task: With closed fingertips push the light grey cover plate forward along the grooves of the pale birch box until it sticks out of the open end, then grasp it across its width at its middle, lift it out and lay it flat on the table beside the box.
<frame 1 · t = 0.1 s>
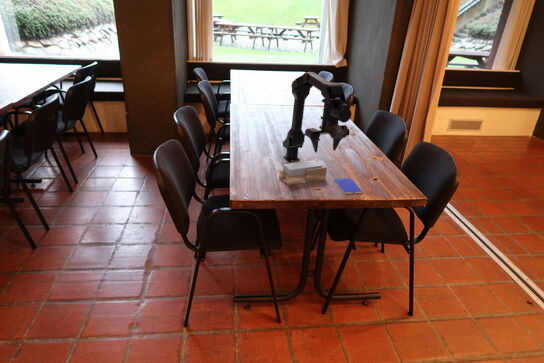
hand: (325, 151, 155), 14 cm above the table, fingers open, 9 cm apart
cover plate: (302, 171, 162), point 3 cm above the table, touching birch box
birch box: (302, 178, 164), on the table
hard drive: (347, 188, 159), on the table
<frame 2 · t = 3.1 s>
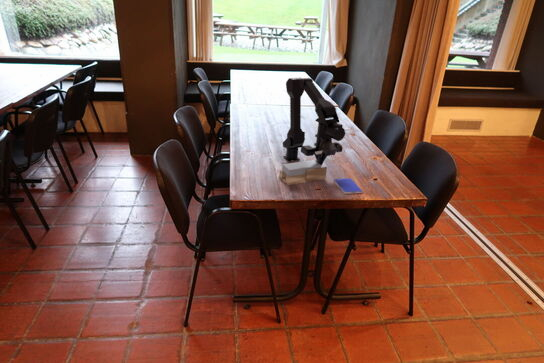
hand: (319, 166, 166), 5 cm above the table, fingers closed
cover plate: (301, 171, 162), point 4 cm above the table, touching birch box, gripper
everything else where it was.
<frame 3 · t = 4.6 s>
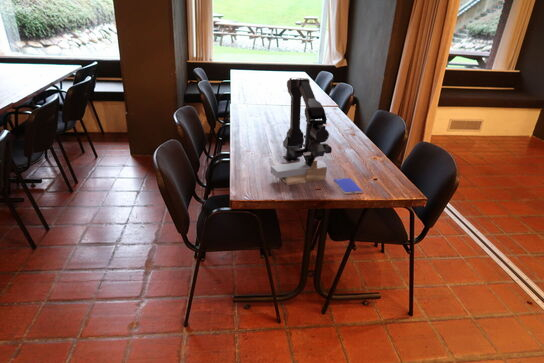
hand: (308, 168, 163), 5 cm above the table, fingers closed
cover plate: (290, 172, 160), point 3 cm above the table, touching birch box, gripper
everything else where it was.
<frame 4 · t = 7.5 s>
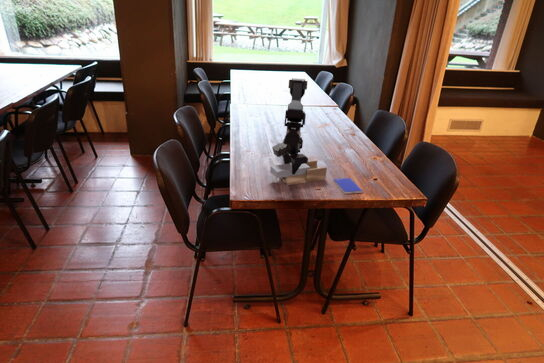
hand: (289, 171, 160), 4 cm above the table, fingers closed on cover plate, 6 cm apart
cover plate: (289, 172, 160), point 4 cm above the table, touching birch box, gripper
everything else where it was.
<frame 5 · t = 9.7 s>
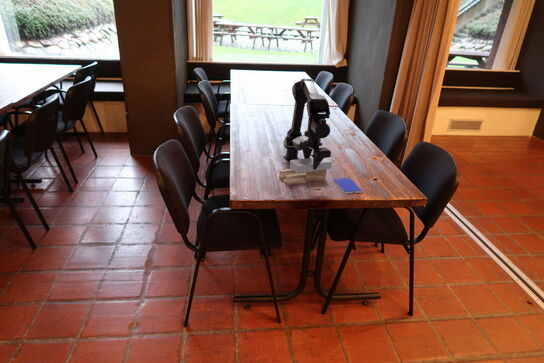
hand: (310, 166, 150), 11 cm above the table, fingers closed on cover plate, 6 cm apart
cover plate: (310, 167, 150), point 10 cm above the table, touching gripper
everything else where it was.
when the fingers open (2 cm above the table, at t = 11.6 s): cover plate drops 2 cm, on the table.
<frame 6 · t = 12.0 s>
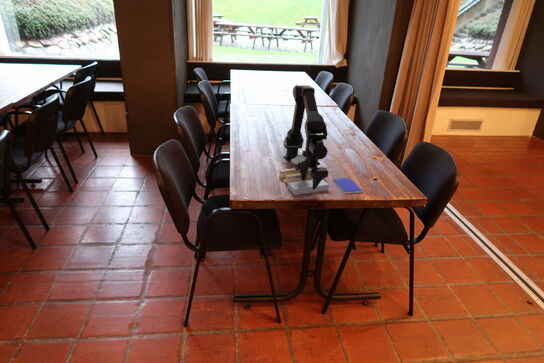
hand: (308, 184, 153), 2 cm above the table, fingers open, 9 cm apart
cover plate: (307, 190, 155), on the table
everything else where it was.
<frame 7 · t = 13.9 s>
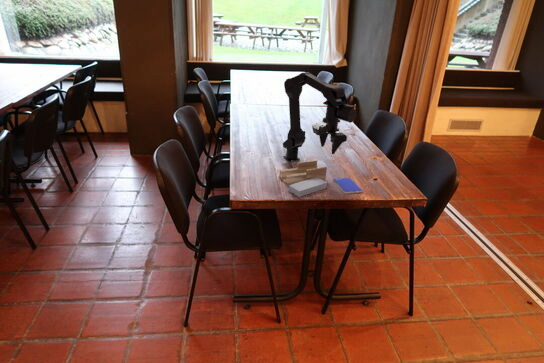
hand: (327, 150, 165), 12 cm above the table, fingers open, 9 cm apart
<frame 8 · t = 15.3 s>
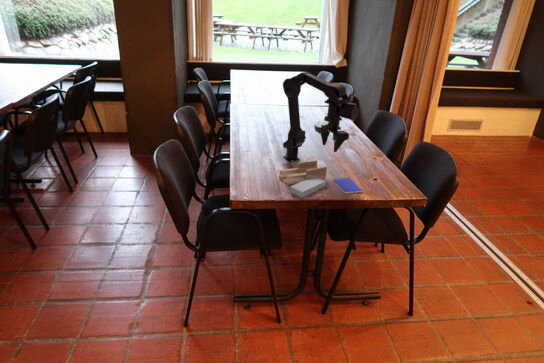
hand: (329, 148, 166), 12 cm above the table, fingers open, 9 cm apart
at the end: cover plate on the table; cover plate inside the target area (0.5 cm from its centre), on the table; cover plate tilted 0° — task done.
